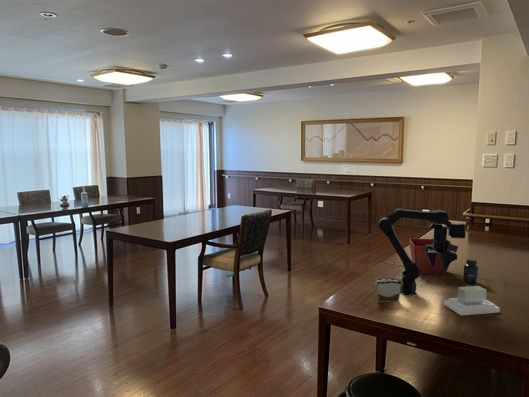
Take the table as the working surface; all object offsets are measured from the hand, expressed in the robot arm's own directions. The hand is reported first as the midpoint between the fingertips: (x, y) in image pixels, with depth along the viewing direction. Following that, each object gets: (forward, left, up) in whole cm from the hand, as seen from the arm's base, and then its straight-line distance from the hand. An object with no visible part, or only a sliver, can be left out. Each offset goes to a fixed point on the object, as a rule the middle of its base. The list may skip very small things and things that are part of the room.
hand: (438, 269), depth 187 cm
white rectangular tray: (+5, -17, -12) cm, 22 cm away
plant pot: (+17, +35, -13) cm, 41 cm away
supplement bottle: (+28, +14, -13) cm, 34 cm away
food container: (-26, 0, -13) cm, 29 cm away
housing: (+5, -17, -10) cm, 21 cm away
